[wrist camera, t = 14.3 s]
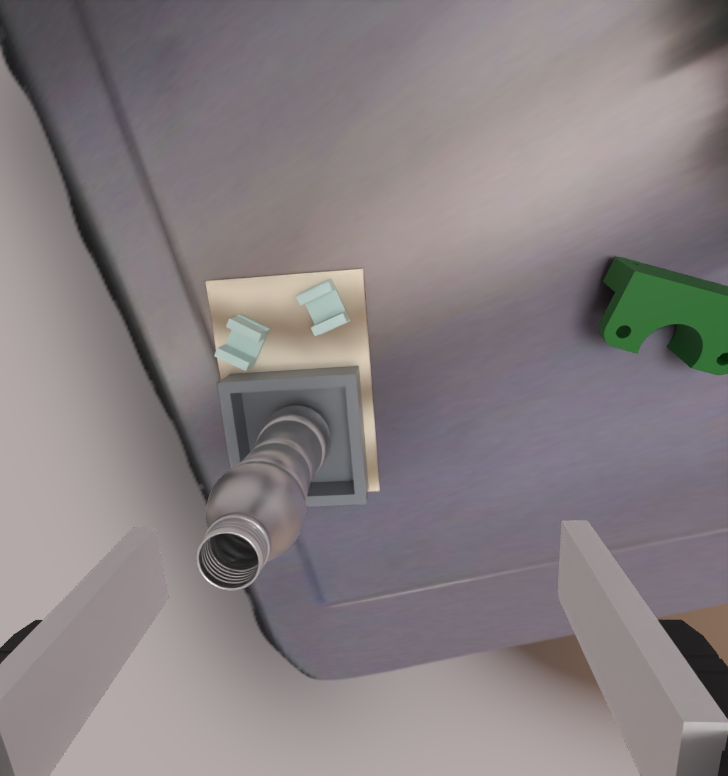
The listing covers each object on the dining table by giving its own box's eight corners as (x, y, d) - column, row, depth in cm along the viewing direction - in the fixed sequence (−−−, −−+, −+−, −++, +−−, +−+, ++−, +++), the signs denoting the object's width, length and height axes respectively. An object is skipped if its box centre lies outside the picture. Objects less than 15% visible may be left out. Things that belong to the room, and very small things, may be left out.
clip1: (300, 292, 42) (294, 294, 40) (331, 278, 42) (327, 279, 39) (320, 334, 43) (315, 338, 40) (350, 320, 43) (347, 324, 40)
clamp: (588, 312, 46) (576, 334, 39) (618, 251, 44) (611, 263, 36) (724, 362, 42) (738, 397, 35) (767, 299, 40) (792, 322, 32)
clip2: (240, 313, 43) (230, 316, 40) (270, 327, 43) (262, 331, 41) (223, 352, 44) (213, 358, 41) (253, 366, 44) (245, 373, 42)
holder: (230, 373, 44) (216, 382, 41) (358, 365, 44) (356, 374, 40) (247, 492, 47) (236, 509, 44) (368, 486, 46) (366, 504, 43)
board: (209, 280, 43) (205, 281, 43) (363, 268, 42) (362, 268, 41) (241, 492, 49) (238, 497, 48) (379, 486, 48) (379, 491, 47)
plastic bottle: (345, 415, 44) (307, 532, 25) (318, 477, 46) (263, 631, 27) (280, 388, 44) (190, 484, 25) (255, 451, 46) (154, 588, 26)
